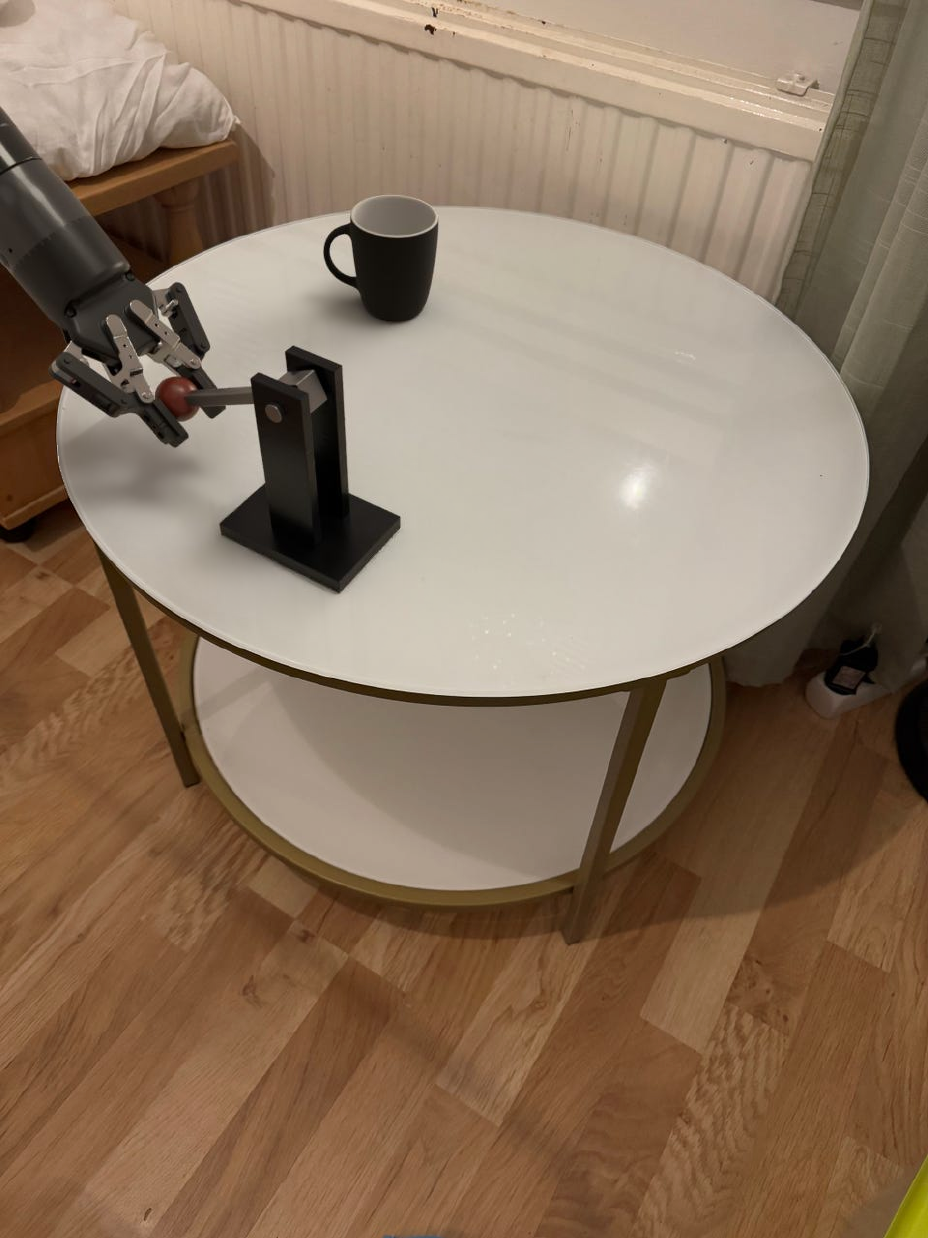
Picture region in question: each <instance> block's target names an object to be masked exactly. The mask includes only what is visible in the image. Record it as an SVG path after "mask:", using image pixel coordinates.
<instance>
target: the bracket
mask: <svg viewBox="0 0 928 1238" xmlns="http://www.w3.org/2000/svg"><path fill="white" fill-rule="evenodd" d="M284 357H285V364H286V365H285V366H286V373H287V372H291V371H304V370H315V372H316V374H317V377H318V379H319V381H320V383H321V386H322V388H323V390H324V392H325V395H326V397H327V400H326V401H325V402H324V403H322V404H321V405H320V406H319V407H318V408H317V409H315V410H314V411H313V412H312V413H310V401H309V393H307V392H305V391H302V390H300V389H297V388H295V387H293V386H290V385H288V384H286V383H283V382H281V381H279V380H278V379H276V378H274V377H271V376H269V375H268V374H267V375H266V374H264V373H261V372H257V373H255V374H254V375H253V376H251V377H250V378H249V381H250V386H251V388H252V395H253V402H254V404H253V408H254V409H253V410H254V417H255V422H256V431H257V436H258V444H259V451H260V456H261V457H260V458H261V465H262V470H263V471H262V472H263V478H264V483H263V484H262V485H260V487H258V489H255V491H254V492H253V493H251V494H250V495H249V496H248V497H247V498H246V499H245V500H244V501H242V503H240V504H239V505H238V506H237V507H236V508H234V510H232V511H231V512H230V513H229V514H228V515H227V516H226V517H224V519H222V520H221V521H220V522H219V523H218V525H219V530H220V535H222V536H223V537H225V538H227V539H229V540H230V541H233V542H236V543H237V544H240V545H242V546H243V547H245V548H248V549H250V550H252V551H254V552H256V553H257V554H260V555H262V556H264V557H266V558H268V559H270V560H272V561H274V562H276V563H278V564H280V565H281V566H284V567H286V568H288V569H290V570H293V571H294V572H296V573H298V574H301V575H302V576H304V577H306V578H308V579H310V580H313V581H314V582H317V583H318V584H320V585H323V586H325V587H326V588H329V589H331V590H333V591H334V592H336V593H338V594H341V593H342V592H343V590H344V589H345V588H346V587H347V586H348V585H349V584H350V583H351V582H352V581H353V579H355V577H356V576H357V575H358V574H359V573H360V572H361V571H362V570H363V569H364V567H366V566H367V564H368V563H369V562H370V561H371V560H372V559H373V558H374V557H375V556H376V555H377V553H378V552H379V551H380V550H382V548H383V547H384V546H385V545H386V544H387V543H388V542H389V541H390V540H391V538H392V537H393V536H394V535H395V534H396V533H397V532H398V530H399V529H400V528H401V527H402V525H401V523H402V519H401V518H402V517H401V516H400V515H399V514H396V513H394V512H392V511H390V510H387V509H385V508H383V507H381V506H379V505H376V504H374V503H372V502H370V501H368V500H365V499H363V498H362V497H359V496H357V495H355V494H352V493H350V489H349V488H350V487H349V469H348V453H347V452H348V449H347V430H346V411H345V410H346V409H345V391H344V373H343V372H344V371H343V369H344V368H343V364H340V363H338V362H335V361H333V360H331V359H328V358H326V357H323V356H321V355H319V354H316V353H314V352H311V351H308V350H306V349H303V348H301V347H298V346H296V345H291V346H290V347H288V348H287V349H286V350H285V351H284Z"/></svg>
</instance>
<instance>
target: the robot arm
mask: <svg viewBox="0 0 928 1238" xmlns="http://www.w3.org/2000/svg"><path fill="white" fill-rule="evenodd" d="M0 264H1V265H2V266H3V267H4V268H6V269H7V271H8V272H9V273H10V274H11V276H12V277H13V278H14V279H15V281H16V282H17V283H18V284H19V285H20V286H21V287H22V289H23V290H24V291H25V292H26V294H27V295H28V296H29V297H30V298H31V299H32V301H33V302H34V303H35V304H36V306H38V308H39V309H40V310H41V312H43V314H44V315H45V316H46V317H47V318H48V320H49V321H51V322H52V323H54V324H55V325H56V326H58V327H59V329H60V330H61V334H62V335H63V339H64V343H65V344H66V346H65V348H64V349H63V351H62V352H60V353H59V355H58V356H57V357H56V358H55V359H54V360H53V361H52V363H50V365H49V366H48V374H49V375H50V376H51V377H52V378H53V379H55V381H58V382H59V383H60V384H62V385H63V386H64V387H66V388H68V389H69V390H70V391H72V392H74V393H75V394H76V395H78V396H79V397H80V398H82V399H83V400H85V401H87V402H88V403H90V404H91V405H92V406H94V407H95V408H97V409H98V410H100V411H101V412H102V413H104V414H105V415H107V416H108V417H109V418H113V419H117V418H118V417H120V416H123V415H127V414H135V415H137V416H138V417H139V418H140V419H141V420H142V421H143V423H144V424H145V426H147V427H148V429H149V430H150V431H151V432H152V434H154V436H155V437H156V438H157V439H158V441H159V442H161V443H162V444H164V445H165V446H167V445H169V446H170V447H172V448H175V449H176V448H177V447H179V446H180V445H182V444H183V443H185V442H186V441H187V440H188V439H189V438H190V435H189V432H188V431H187V430H186V429H185V428H184V426H183V425H182V424H181V422H178V421H177V419H176V418H175V417H174V416H173V414H172V413H171V412H170V411H169V410H168V408H167V407H166V406H165V405H164V404H163V402H162V401H161V400H160V399H157V400H156V401H155V398H154V396H155V393H154V392H153V390H152V388H151V386H150V384H149V382H148V380H147V379H146V377H145V374H144V366H143V363H142V361H141V360H140V357H144V356H146V357H148V358H149V359H150V360H151V361H153V362H154V363H156V364H161V365H162V366H164V367H165V368H167V370H169V371H170V372H171V373H172V374H174V375H175V376H177V377H183V378H186V379H188V380H189V381H191V382H192V383H193V384H194V385H195V386H196V387H197V389H198V390H201V389H217V388H218V387H217V385H216V384H215V382H213V380H212V379H211V377H210V376H209V375H208V374H207V373H206V371H205V370H204V368H203V367H202V366H203V365H202V361H203V359H204V357H205V356H206V354H208V352H210V350H211V343H210V341H209V338H208V336H207V334H206V331H205V330H204V327H203V326H202V323H201V320H200V317H199V315H198V314H197V311H196V309H195V306H194V304H193V303H192V300H191V298H190V295H189V293H188V290H187V289H186V287H185V285H184V284H182V282H178V281H175V282H173V283H172V285H170V286H169V287H167V288H159V289H154V290H152V288H150V286H148V285H146V284H145V283H143V282H142V281H140V280H139V279H138V278H137V277H136V276H135V274H134V272H133V271H132V269H131V265H130V263H129V261H128V260H127V259H126V257H125V255H123V254H122V252H121V250H120V249H119V248H118V247H117V246H116V245H115V243H114V242H113V241H112V240H111V238H110V237H109V236H108V234H107V233H106V232H105V230H104V229H103V228H102V227H101V226H100V224H99V223H98V222H97V220H96V218H94V217H93V215H92V214H91V213H90V212H89V210H88V209H87V208H86V207H85V205H84V204H83V203H82V202H81V200H80V199H79V197H78V196H77V195H76V194H75V192H74V191H73V190H72V189H71V188H70V187H69V185H68V184H67V183H66V182H65V181H64V180H63V179H62V178H61V177H60V176H59V175H58V174H57V173H56V172H55V171H54V170H53V169H52V168H51V167H50V166H49V165H48V164H47V162H46V161H45V160H44V159H43V157H42V156H41V155H40V154H39V153H38V152H37V150H36V149H35V148H34V146H33V145H32V144H31V143H30V141H29V140H28V139H27V138H26V136H25V135H24V133H23V132H22V131H21V130H20V129H19V127H18V126H17V125H16V124H15V122H14V121H13V120H12V118H11V117H10V115H9V114H8V113H7V112H6V111H5V110H4V108H3V107H2V106H1V105H0ZM159 311H160V314H161V316H162V317H164V318H167V320H168V322H169V324H170V326H171V328H170V327H169V326H168V325H167V324H166V323H164V321H162V320H161V319H160V315H159ZM160 343H161V344H160ZM88 358H89V359H92V360H93V361H96V362H99V363H101V365H102V367H103V369H104V370H105V373H106V375H107V376H108V378H109V379H107V378H106V377H104V376H103V375H102V374H100V373H98V372H97V371H96V370H95V369H93V368H92V367H90V363H89V360H88ZM199 409H201V411H202V412H203V413H204V415H206V416H207V417H208V418H209V419H211V420H214V419H215V418H216V417H217V416H219V415H220V414H223V412H225V410H227V405H226V406H204V407H200V408H199Z"/></svg>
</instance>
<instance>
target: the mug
mask: <svg viewBox="0 0 928 1238" xmlns="http://www.w3.org/2000/svg"><path fill="white" fill-rule="evenodd" d="M342 235H346V236H348V237H349V239H350V242H351V243H350V244H351V250H352V252H351V253H352V258H353V266H354V273H355V276H350V275H348V274H346V273H344V272H343V271H342V270H340V269H339V268H338V267H337V265H335V263H334V261H333V259H332V256H331V245H332V243H333V242H334V240H335V239H337V238H338V237H339V236H342ZM438 237H439V216H438V213H437V211H436V209H435V208H434V207H433V206H432V205H431V204H429V203H427V202H426V201H423V200H421V199H418V198H415V197H413V196H409V195H402V194H401V195H400V194H382V195H375V196H371V197H368V198H365V199H362V200H361V201H359V202H358V203H356V204H355V205H354V206H353V207H352V208H351V210H350V215H349V222H348V223H345V224H342V225H339V226H338V227H335V228H333V230H331V232H329V234H327V236H326V238H325V241H324V244H323V248H322V249H323V250H322V252H323V253H322V254H323V260H324V263H325V265H326V268H327V270H328V271H329V272H330V274H331V275H332V276H333V277H334V278H335V279H336V280H338V281H340V282H341V283H342V284H345V285H347V286H350V287H353V288H354V289H356V290H357V291H358V293H359V296H360V298H361V301H362V303H363V305H364V307H365V309H366V310H367V311H368V312H369V313H370V314H371V315H372V316H374V317H376V318H378V319H379V320H380V319H381V320H385V321H390V322H400V321H401V322H402V321H407V320H410V319H413V318H415V317H417V316H419V314H420V313H421V312H423V309H424V308H425V306H426V304H427V302H428V299H429V295H430V293H431V288H432V284H433V278H434V274H435V273H434V272H435V265H436V258H437V248H438V239H439V238H438Z"/></svg>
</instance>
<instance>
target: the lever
mask: <svg viewBox="0 0 928 1238" xmlns="http://www.w3.org/2000/svg"><path fill="white" fill-rule="evenodd" d="M277 380H279V381H281V382H283V383H286V384H288V385H290V386H293V387H295V388H297V389H300V390H302V391H305V392H307V393H309V401H310V413H312V412H313V411H314V410H315V409H317V408H318V407H319V406H320V405H321V404H322V403H324V402H325V401H326V400H327V397H326V395H325V392H324V390H323V388H322V386H321V383H320V381H319V379H318V377H317V374H316V372H315V370H304V371H291V372H287V371H286V372H285V373H284V374H283V375H282V376H281V377H279V378H278V379H277ZM157 399H160V400H161V401H162V402H163V404H164V405H165V406H166V407H167V408H168V410H169V411H170V412H171V413H172V414H173V416H174V417H175V418H176V419H177V421H178V422H179V423H183V422H187V421H190V420H191V419H193V418H194V417H195V416H196V415H197V414H198V412H199V410H200V409H201V408H200V407H204V406H226V407H227V406H247V405H254V402H253V395H252V388H251V385H250V386H249V385H248V386H234V387H217V389H201V390H198V389H197V387H196V386H195V385H194V384H193V383H192V382H191V381H189V380H188V379H186V378H183V377H178V376H176V375H175V376H169V377H166V378H164V379H162V381H161V382H160V383H159V384H158V385H157V387H156V389H155V391H154V400H155V401H156V400H157Z"/></svg>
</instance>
